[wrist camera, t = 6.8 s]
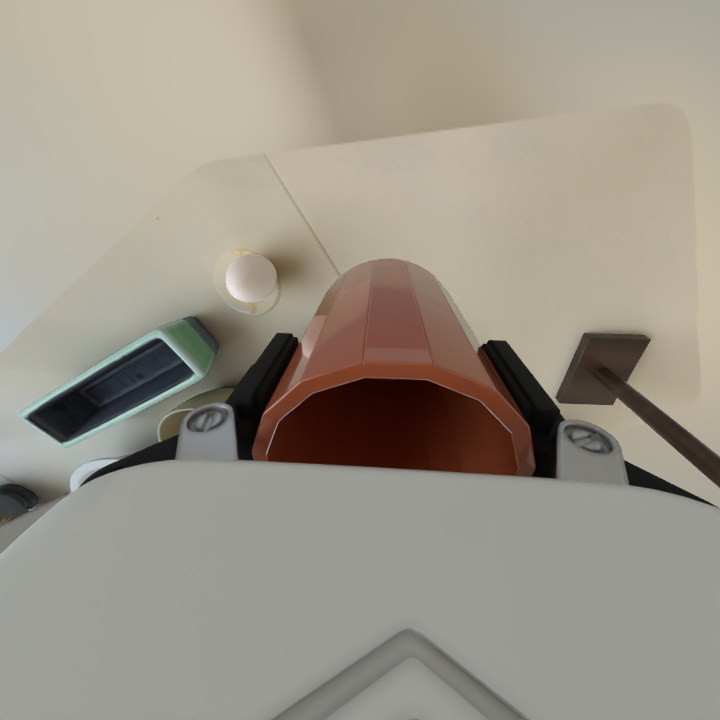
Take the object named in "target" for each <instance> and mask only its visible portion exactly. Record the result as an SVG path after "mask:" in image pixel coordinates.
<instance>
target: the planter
mask: <svg viewBox="0 0 720 720" xmlns="http://www.w3.org/2000/svg"><path fill="white" fill-rule="evenodd" d="M218 347H219V346H218V343H217V342H216V341H215V340H214V339H213V337H212V336H211V335H210V334H209V333H208V332H207V330H206V329H205V328H204V327H203V326H202V325H201V324H200V322H199V321H198V320H197V319H196V318H195V317H192V316H190V317H187V318H184V319H181V320H178V321H175V322H172V323H169V324H166V325H164V326H161V327H159V328H157V329H155V330H153V331H151V332H149V333H147V334H146V335H144V336H142V337H141V338H139V339H137V340H136V341H134V342H132V343H131V344H129V345H127V346H126V347H124V348H123V349H121V350H119V351H118V352H116V353H114V354H113V355H111V356H109V357H108V358H106V359H105V360H103V361H101V362H100V363H98V364H96V365H95V366H93V367H91V368H90V369H88V370H87V371H85V372H83V373H82V374H80V375H78V376H77V377H75V378H74V379H72V380H70V381H69V382H67V383H66V384H64V385H62V386H61V387H59V388H57V389H56V390H54V391H53V392H51V393H49V394H48V395H46V396H45V397H43V398H41V399H40V400H38V401H36V402H35V403H33V404H32V405H30V406H29V407H27V408H25V409H24V410H23V411H21V412H20V413H19V416H20V418H21V419H23V420H24V421H25V422H27V423H28V424H30V425H31V426H32V427H34V428H35V429H37V430H38V431H40V432H41V433H42V434H44V435H45V436H47V437H48V438H50V439H51V440H53V441H54V442H56V443H57V444H58V445H60V446H62V447H70V446H72V445H74V444H76V443H78V442H80V441H82V440H85V439H87V438H89V437H91V436H93V435H95V434H96V433H98V432H100V431H102V430H104V429H106V428H108V427H110V426H112V425H114V424H116V423H118V422H120V421H122V420H124V419H126V418H128V417H130V416H132V415H134V414H136V413H138V412H140V411H142V410H144V409H146V408H148V407H150V406H152V405H154V404H156V403H158V402H160V401H162V400H164V399H166V398H168V397H170V396H172V395H174V394H175V393H177V392H179V391H181V390H183V389H185V388H187V387H189V386H191V385H193V384H195V383H196V382H198V381H200V380H202V379H203V378H204V377H205V376H206V374H207V373H208V371H209V369H210V367H211V364H212V362H213V360H214V358H215V355H216V353H217V350H218Z"/></svg>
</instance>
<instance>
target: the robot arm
mask: <svg viewBox="0 0 720 720" xmlns="http://www.w3.org/2000/svg"><path fill="white" fill-rule="evenodd" d="M298 346H299V344H298V339H297V337H293V335H292V334H290V333H277V334H276V335H275V336H274V338H273V339H272V341H271V342H270V343H269V345H268V346H267V348H266V349H265V350H264V352H263V353H262V355H261V356H260V357H259V359H258V360H257V362H256V363H255V364H253V365H252V366H251V367H250V368H249V370H248V371H247V373H246V374H245V375H244V377H243V378H242V380H241V381H240V382H239V384H238V385H237V386H236V388H235V389H234V391H233V392H232V393H231V395H230V396H229V398H228V399H227V400H226V402H225V403H210V404H206V405H203V406H200V407H198V408H196V409H194V410H192V411H191V412H190V413H188V414H187V415H186V416H185V417H184V418H183V420H182V422H181V425H180V431H179V434H177V435H175V436H173V437H171V438H168V439H166V440H164V441H161V442H159V443H157V444H155V445H152V446H150V447H148V448H145V449H143V450H141V451H139V452H136V453H134V454H132V455H129V456H127V457H125V458H123V459H120V460H118V461H116V462H113V463H111V464H109V465H107V466H105V467H103V468H101V469H99V470H97V471H96V472H95V473H93V474H92V475H91V476H89V477H88V478H87V479H86V480H85V481H84V482H83V483H82V484H81V485H80V487H79V488H78V489H76V490H75V491H73V492H72V493H70V494H69V495H68V494H67V493H66V494H64V495H62V496H60V497H58V498H56V499H54V500H52V501H50V502H48V503H46V504H44V505H42V506H40V507H38V508H36V509H33V510H31V511H29V512H27V513H25V514H23V515H21V516H19V517H17V518H15V519H13V520H11V521H9V522H7V523H5V524H3V525H1V526H0V720H720V508H718V507H717V506H714V505H713V504H711V503H709V502H707V501H705V500H703V499H701V498H699V497H697V496H695V495H693V494H691V493H689V492H687V491H685V490H683V489H681V488H679V487H677V486H675V485H673V484H671V483H669V482H667V481H665V480H663V479H661V478H659V477H657V476H655V475H653V474H651V473H649V472H647V471H645V470H643V469H641V468H639V467H637V466H634V465H633V464H631V463H629V462H627V461H625V460H624V459H623V455H622V450H621V447H620V445H619V443H618V441H617V440H616V439H615V438H614V437H613V436H612V435H610V434H609V433H608V432H606V431H605V430H603V429H602V428H600V427H598V426H596V425H593V424H591V423H588V422H585V421H580V420H565V419H564V418H563V417H562V415H561V414H560V410H559V408H558V407H557V406H556V405H555V403H554V402H553V401H552V399H551V398H550V397H549V396H548V394H547V393H546V392H545V390H544V389H543V388H542V387H541V385H540V384H539V383H538V381H537V380H536V379H535V378H534V376H533V375H532V374H531V372H530V371H529V370H528V369H527V367H526V366H525V365H524V363H523V362H522V361H521V360H520V358H519V357H518V356H517V354H516V353H515V352H514V351H513V349H512V348H511V347H510V345H509V344H508V343H507V342H506V341H497V340H489V341H488V342H487V344H483V345H482V348H483V350H484V352H485V353H486V355H487V357H488V358H489V360H490V362H491V363H492V365H493V367H494V368H495V370H496V372H497V373H498V375H499V377H500V378H501V380H502V382H503V383H504V385H505V386H506V388H507V390H508V391H509V393H510V395H511V396H512V398H513V400H514V401H515V403H516V405H517V406H518V408H519V410H520V411H521V413H522V415H523V416H524V418H525V420H526V421H527V423H528V425H529V427H530V431H531V438H532V444H533V450H534V456H535V463H536V467H535V471H534V473H533V475H532V477H523V476H508V475H492V474H477V473H461V472H445V471H429V470H412V469H395V468H378V467H361V466H343V465H324V464H306V463H287V462H268V461H254V460H253V456H252V446H253V443H254V440H255V437H256V434H257V430H258V427H259V424H260V421H261V418H262V415H263V413H264V411H265V409H266V407H267V405H268V403H269V401H270V399H271V397H272V395H273V394H274V392H275V390H276V388H277V386H278V384H279V382H280V380H281V378H282V376H283V374H284V372H285V371H286V369H287V367H288V365H289V363H290V361H291V359H292V357H293V355H294V353H295V351H296V350H297V348H298Z"/></svg>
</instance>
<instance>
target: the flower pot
mask: <svg viewBox="0 0 720 720" xmlns="http://www.w3.org/2000/svg"><path fill="white" fill-rule="evenodd" d="M234 389H235V388H220V389H215V390H211V391H208V392H205V393H202V394H200V395H197V396H195V397H193V398H191V399H189V400H187V401H185V402H184V403H182V404H180V405H179V406H177V407H176V408H174V409H173V410H172V411H170V412H169V413H168V414H167V415H166V416H164V417H163V418H162V420H161V421H160V423H159V425H158V429H157V435H158V439H159V442H161V441H164V440H166V439H168V438H171V437H173V436H175V435H177V434H179V431H180V425H181V422H182V420H183V418H184V417H185V416H186V415H187V414H188V413H190V412H191V411H192V410H194V409H196V408H198V407H200V406H203V405H206V404H210V403H225V402H226V400H227V399H228V398H229V396H230V395H231V393H232V392H233V391H234Z"/></svg>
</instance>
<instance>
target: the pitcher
mask: <svg viewBox="0 0 720 720" xmlns="http://www.w3.org/2000/svg"><path fill="white" fill-rule="evenodd" d="M37 500H38V499H37V498H36V496H35V495H34V494H33V493H31V492H30V491H28V490H26V489H24V488H22V487H19V486H15V485H2V486H0V526H1V525H3V524H5V523H7V522H9V521H11V520H13V519H15V518H17V517H19V516H21V515H23V514H25V513H27V512H29V510H28V509H31V508H33V507H34V506H35V505H36V504H37Z"/></svg>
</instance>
